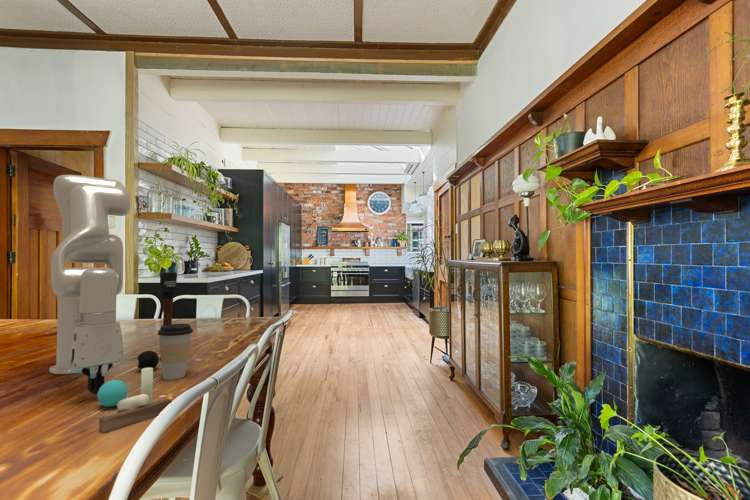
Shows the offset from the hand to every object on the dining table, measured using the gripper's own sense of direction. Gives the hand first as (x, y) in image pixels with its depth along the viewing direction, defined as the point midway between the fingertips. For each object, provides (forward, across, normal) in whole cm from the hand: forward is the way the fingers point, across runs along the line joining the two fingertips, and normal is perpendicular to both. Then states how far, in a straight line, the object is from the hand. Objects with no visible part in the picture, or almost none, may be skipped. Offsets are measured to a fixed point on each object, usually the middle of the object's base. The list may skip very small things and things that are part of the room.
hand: (95, 392), depth 98 cm
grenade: (+2, +30, +21) cm, 37 cm away
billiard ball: (+2, +20, +14) cm, 24 cm away
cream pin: (0, 0, -13) cm, 13 cm away
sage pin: (+2, +4, -16) cm, 17 cm away
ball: (-2, 0, -9) cm, 9 cm away
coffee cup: (+2, +21, +1) cm, 21 cm away
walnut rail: (+2, -1, -22) cm, 22 cm away
